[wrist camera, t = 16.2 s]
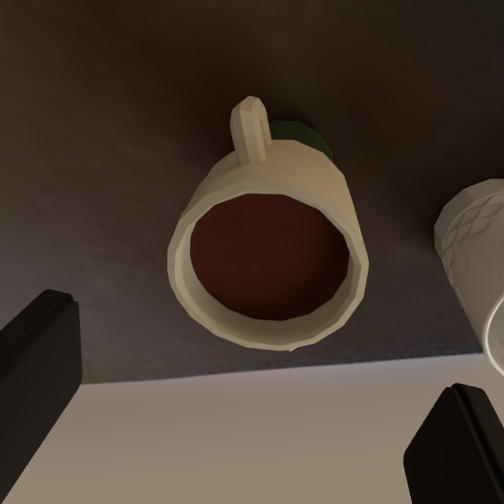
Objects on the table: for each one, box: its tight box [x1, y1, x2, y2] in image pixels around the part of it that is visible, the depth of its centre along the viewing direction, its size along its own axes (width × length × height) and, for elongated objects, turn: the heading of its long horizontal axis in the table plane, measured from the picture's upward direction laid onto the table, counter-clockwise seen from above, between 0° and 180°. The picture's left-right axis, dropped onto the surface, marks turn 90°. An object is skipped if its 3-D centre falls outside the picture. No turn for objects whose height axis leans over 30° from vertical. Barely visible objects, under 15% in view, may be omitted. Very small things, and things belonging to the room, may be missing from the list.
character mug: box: [167, 96, 369, 352], centre depth 19 cm, size 11×7×13 cm, turn 12°
